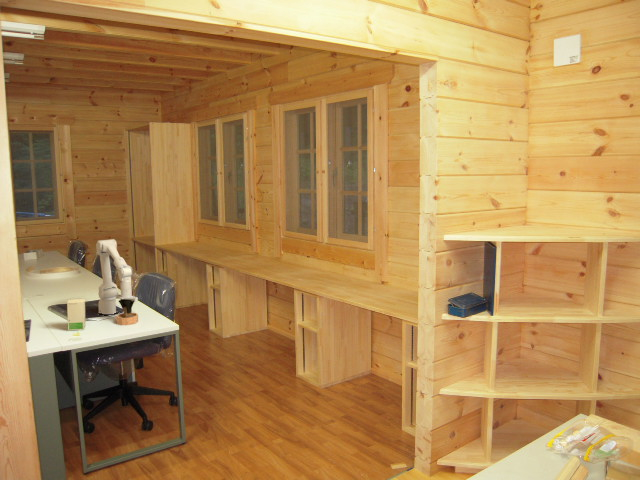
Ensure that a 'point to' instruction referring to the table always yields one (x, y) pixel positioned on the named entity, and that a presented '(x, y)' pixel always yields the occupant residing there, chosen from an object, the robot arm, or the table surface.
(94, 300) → the table surface
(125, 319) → the faceted orange bowl
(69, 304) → the skincare box
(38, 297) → the table surface
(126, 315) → the wooden rectangular peg
